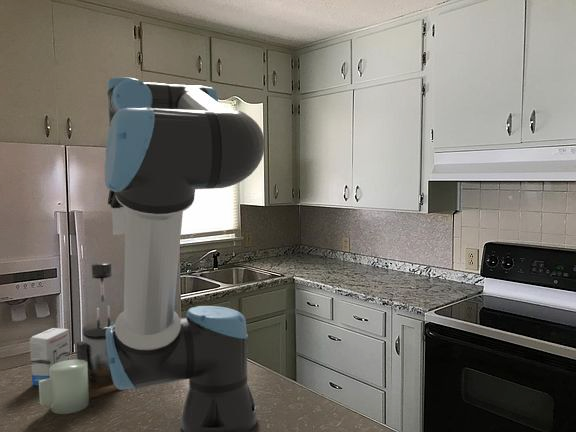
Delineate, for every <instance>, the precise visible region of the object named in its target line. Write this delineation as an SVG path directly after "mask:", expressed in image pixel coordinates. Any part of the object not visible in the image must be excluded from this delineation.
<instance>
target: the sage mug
mask: <svg viewBox="0 0 576 432" xmlns="http://www.w3.org/2000/svg"><path fill="white" fill-rule="evenodd" d="M49 375H50V378H47V379H44V380H40V381H39V386H38V393H39V394H38V395H39V405H40V406H44V405H48V404H50V406H51V407H50V408H51V409H50V411H51V412H52V413H53V414H56V415H57V414H58V415H68V414H69V415H70V414H74V413H77V412H81V411H82V410H85V409H86V408H87V407H88V406H89V405H90V398H89V387H88V365H87V362H86V361H85V360H79V359H77V358H75V359H70V360H66V361H62V362H58V363H56V364H54V365H52V366H51V367H50V368H49Z"/></svg>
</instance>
